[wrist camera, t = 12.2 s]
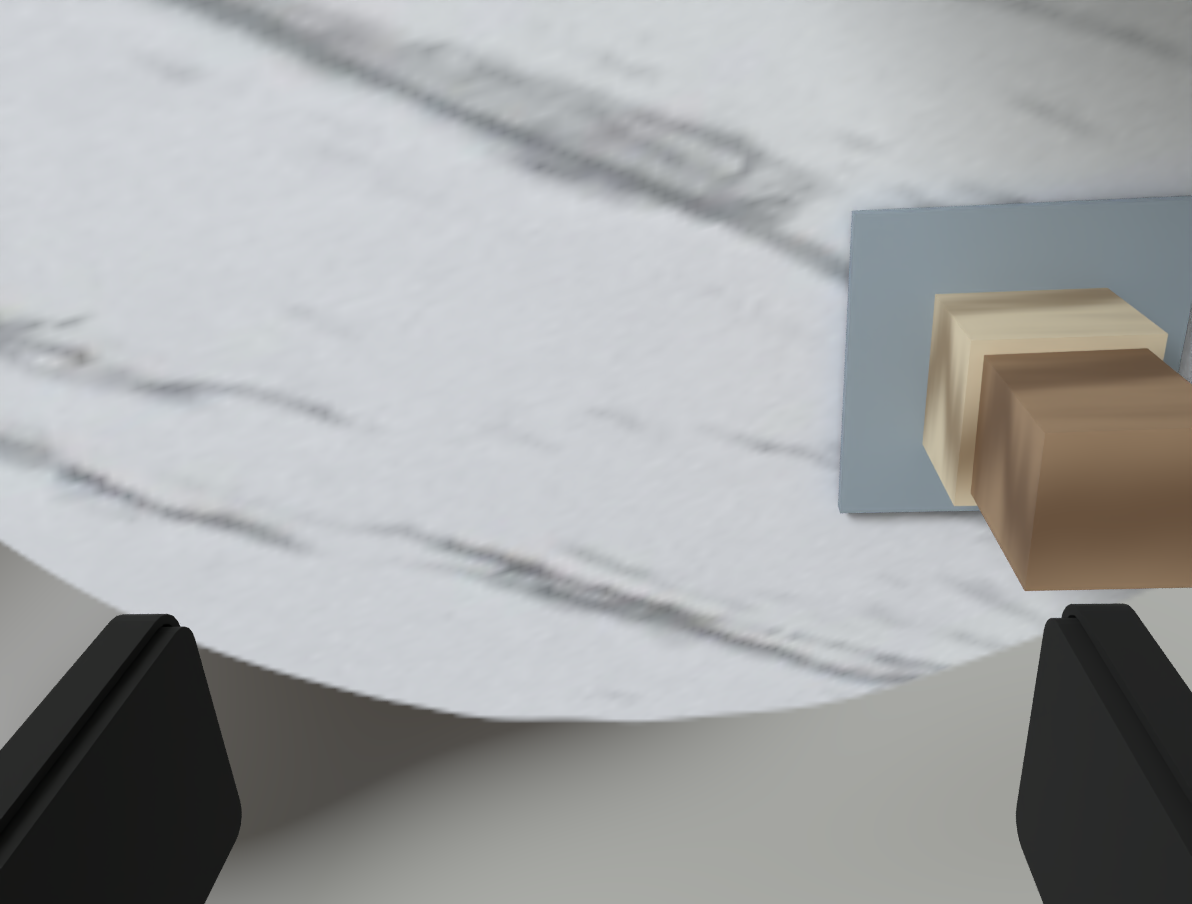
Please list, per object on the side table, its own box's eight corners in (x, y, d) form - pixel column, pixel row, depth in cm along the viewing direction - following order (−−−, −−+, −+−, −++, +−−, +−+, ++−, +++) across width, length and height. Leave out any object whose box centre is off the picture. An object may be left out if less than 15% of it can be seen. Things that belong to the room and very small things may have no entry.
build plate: (851, 210, 37) (854, 214, 36) (1204, 195, 35) (1212, 199, 35) (837, 505, 42) (840, 513, 41) (1145, 500, 41) (1151, 507, 40)
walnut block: (983, 355, 33) (1045, 433, 27) (1147, 348, 32) (1242, 426, 27) (970, 493, 35) (1024, 590, 29) (1123, 488, 34) (1207, 587, 29)
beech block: (935, 293, 37) (971, 340, 33) (1107, 287, 37) (1168, 334, 32) (922, 443, 40) (953, 506, 35) (1083, 440, 39) (1136, 502, 35)
